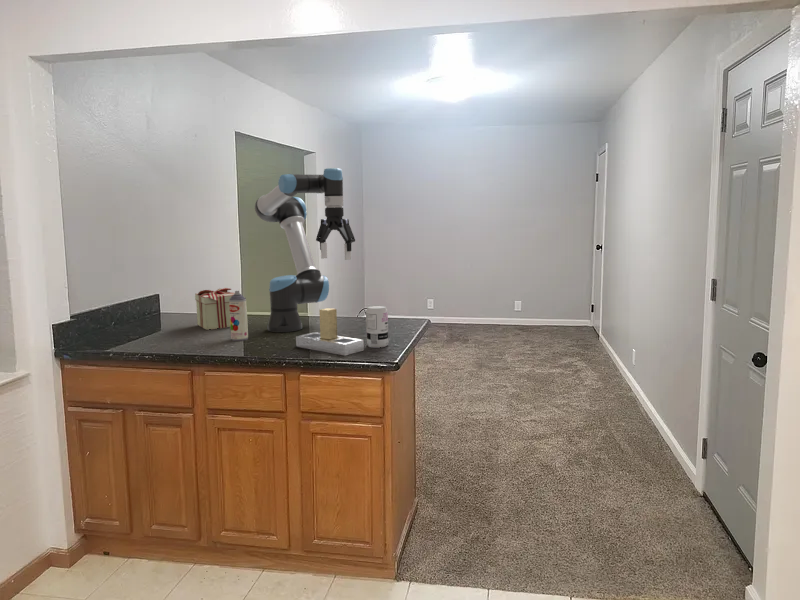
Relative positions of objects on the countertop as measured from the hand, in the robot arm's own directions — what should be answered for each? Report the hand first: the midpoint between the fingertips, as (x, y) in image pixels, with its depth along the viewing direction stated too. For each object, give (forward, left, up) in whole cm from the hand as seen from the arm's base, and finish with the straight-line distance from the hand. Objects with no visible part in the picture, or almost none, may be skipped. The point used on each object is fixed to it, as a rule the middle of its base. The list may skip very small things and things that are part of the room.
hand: (335, 259), depth 260 cm
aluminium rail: (+16, -21, -32) cm, 41 cm away
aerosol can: (-27, -30, -32) cm, 51 cm away
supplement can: (+28, -7, -32) cm, 43 cm away
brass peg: (+16, -21, -32) cm, 41 cm away
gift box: (-59, -17, -32) cm, 69 cm away
